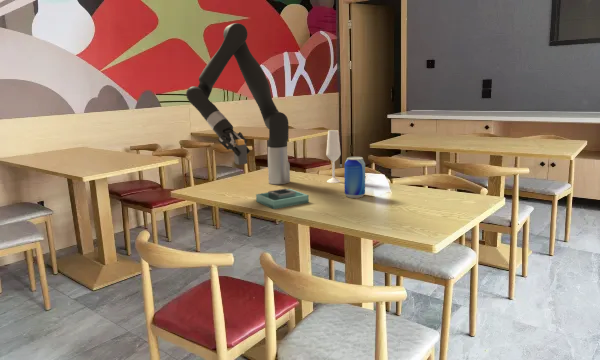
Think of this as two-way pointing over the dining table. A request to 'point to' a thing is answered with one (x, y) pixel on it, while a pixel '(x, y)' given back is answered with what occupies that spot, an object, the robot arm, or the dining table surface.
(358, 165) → the beer can
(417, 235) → the dining table surface
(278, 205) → the tray
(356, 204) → the dining table surface
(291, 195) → the inlet
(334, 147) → the champagne flute
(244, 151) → the grey square peg
